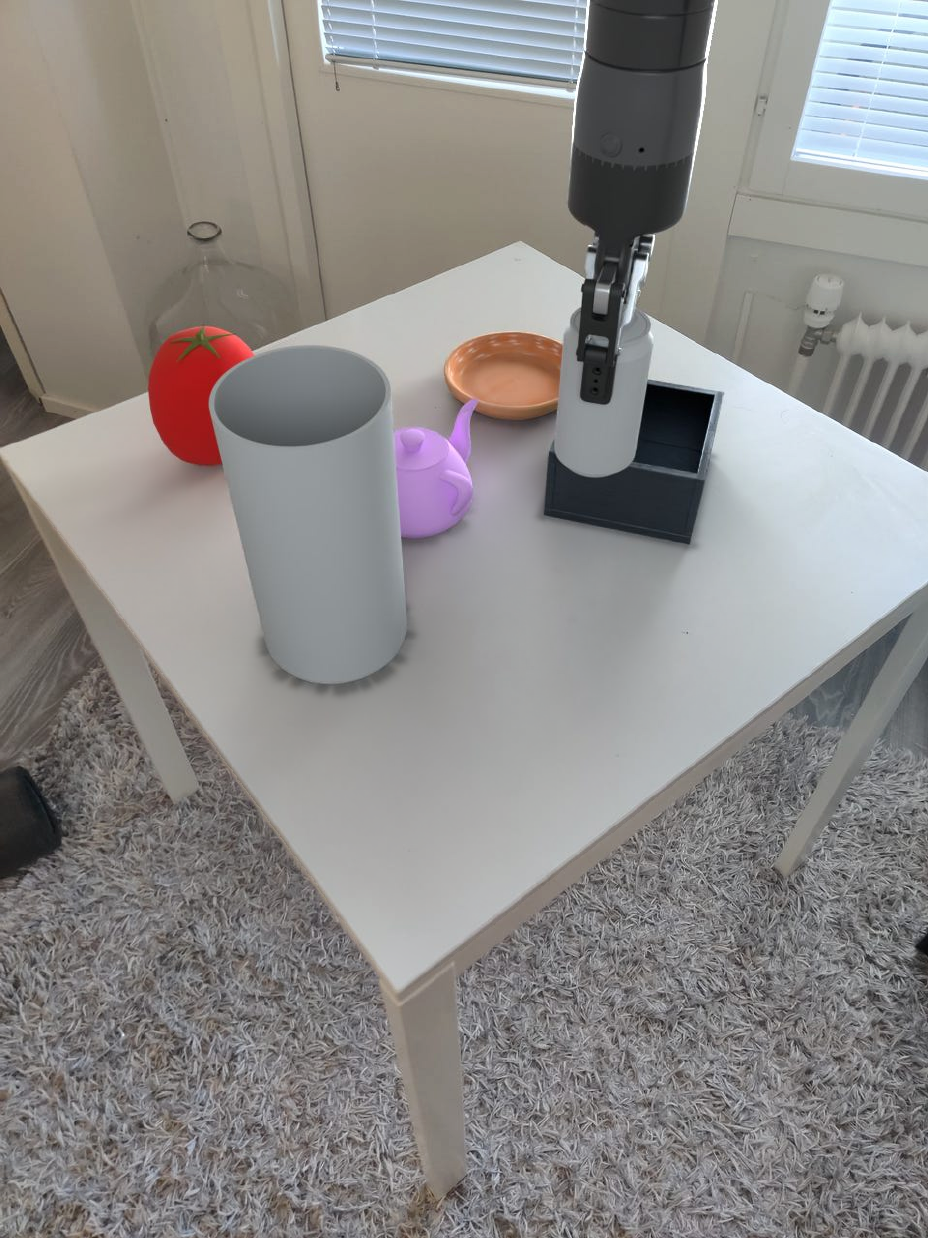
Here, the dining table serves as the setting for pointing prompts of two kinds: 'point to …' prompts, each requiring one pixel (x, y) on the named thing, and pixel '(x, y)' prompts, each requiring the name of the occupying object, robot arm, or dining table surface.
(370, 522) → the cylinder vase
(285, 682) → the dining table surface
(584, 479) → the dark gray open box
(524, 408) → the saucer
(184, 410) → the tomato
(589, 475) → the beverage can
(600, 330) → the robot arm
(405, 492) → the teapot
